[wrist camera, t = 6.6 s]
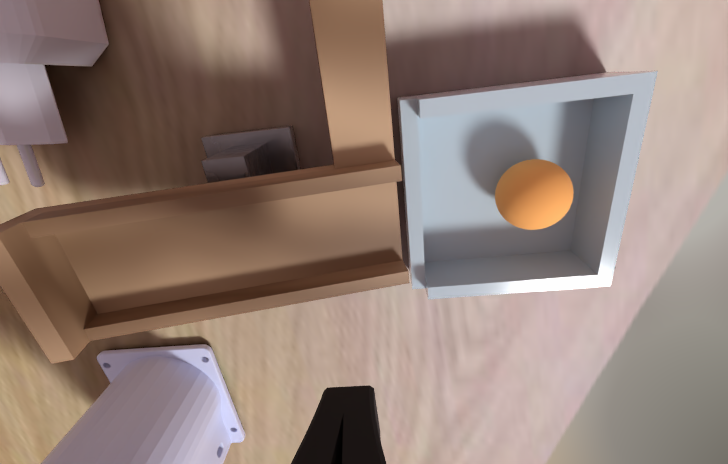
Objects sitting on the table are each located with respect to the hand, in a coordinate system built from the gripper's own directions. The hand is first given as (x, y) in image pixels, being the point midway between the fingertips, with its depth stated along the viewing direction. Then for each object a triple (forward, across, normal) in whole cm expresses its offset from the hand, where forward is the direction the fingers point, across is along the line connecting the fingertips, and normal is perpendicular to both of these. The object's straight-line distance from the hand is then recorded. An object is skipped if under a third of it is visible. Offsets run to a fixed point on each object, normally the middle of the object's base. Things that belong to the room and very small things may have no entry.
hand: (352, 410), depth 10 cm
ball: (+8, -8, -3) cm, 12 cm away
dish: (+10, -7, -3) cm, 13 cm away
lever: (+6, +5, -7) cm, 11 cm away
